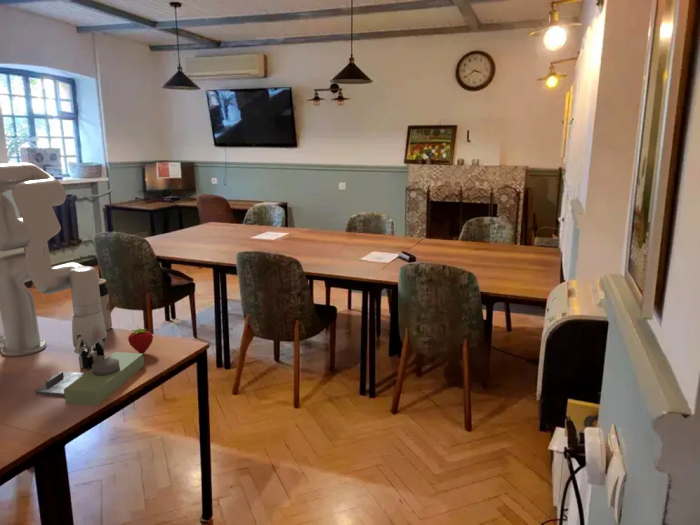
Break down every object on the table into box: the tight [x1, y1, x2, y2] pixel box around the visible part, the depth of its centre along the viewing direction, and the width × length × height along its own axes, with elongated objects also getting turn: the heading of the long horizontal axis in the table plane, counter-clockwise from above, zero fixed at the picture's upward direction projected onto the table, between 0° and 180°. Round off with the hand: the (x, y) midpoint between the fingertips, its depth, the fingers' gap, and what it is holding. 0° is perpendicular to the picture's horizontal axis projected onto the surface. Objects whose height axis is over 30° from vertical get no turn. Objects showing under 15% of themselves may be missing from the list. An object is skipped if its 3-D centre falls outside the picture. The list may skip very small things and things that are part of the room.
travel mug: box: [98, 278, 113, 332], centre depth 185 cm, size 8×8×18 cm
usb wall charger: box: [78, 350, 107, 369], centre depth 159 cm, size 4×7×4 cm, turn 105°
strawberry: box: [127, 327, 154, 355], centre depth 166 cm, size 6×8×10 cm
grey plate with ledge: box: [34, 371, 86, 398], centre depth 146 cm, size 10×12×2 cm
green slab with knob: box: [64, 351, 145, 406], centre depth 147 cm, size 9×24×6 cm, turn 173°
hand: (94, 363), depth 159 cm, fingers closed on usb wall charger, 4 cm apart
